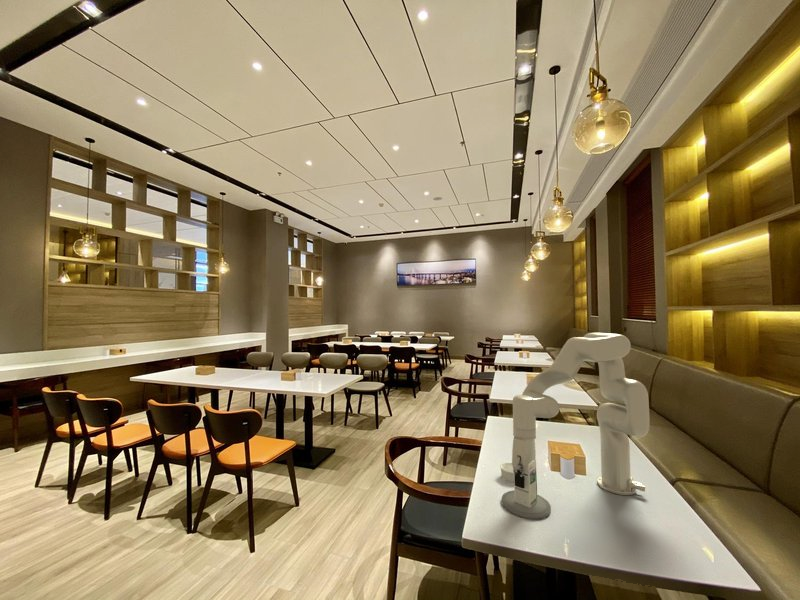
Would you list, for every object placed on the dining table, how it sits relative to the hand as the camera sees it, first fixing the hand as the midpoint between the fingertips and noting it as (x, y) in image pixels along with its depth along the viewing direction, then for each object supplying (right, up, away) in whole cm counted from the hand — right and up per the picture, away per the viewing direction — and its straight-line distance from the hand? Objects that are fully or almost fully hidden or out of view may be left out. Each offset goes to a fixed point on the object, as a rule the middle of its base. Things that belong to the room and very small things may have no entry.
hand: (525, 481), depth 115 cm
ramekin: (+2, -9, +19) cm, 22 cm away
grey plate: (0, -8, 0) cm, 8 cm away
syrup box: (0, -7, 0) cm, 7 cm away
